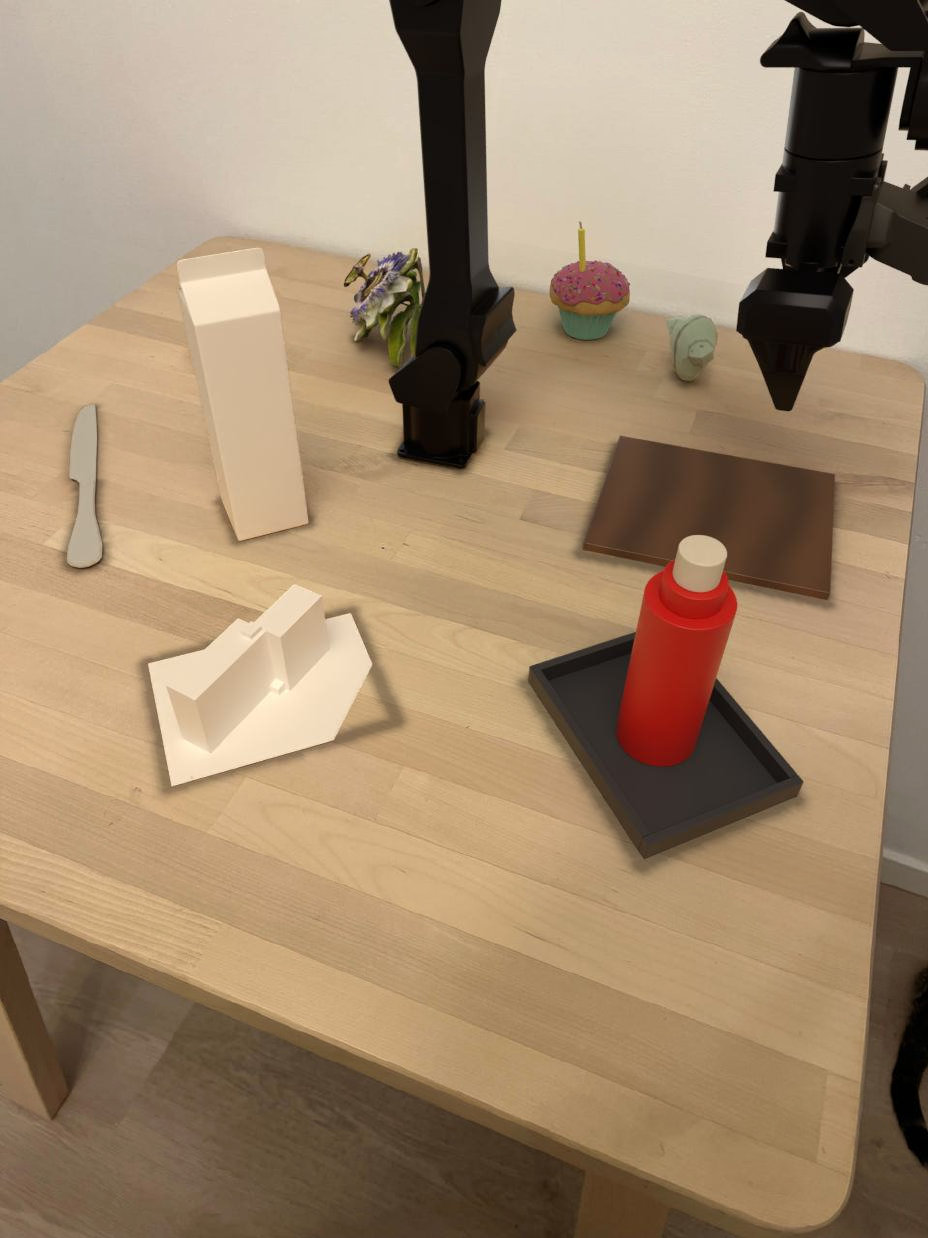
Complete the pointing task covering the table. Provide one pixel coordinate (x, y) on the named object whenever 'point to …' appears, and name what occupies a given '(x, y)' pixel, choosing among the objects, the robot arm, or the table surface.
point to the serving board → (718, 513)
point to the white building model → (259, 688)
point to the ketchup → (676, 654)
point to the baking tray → (650, 795)
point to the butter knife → (84, 491)
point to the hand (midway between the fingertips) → (795, 378)
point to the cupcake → (588, 295)
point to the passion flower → (388, 300)
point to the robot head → (691, 344)
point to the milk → (244, 389)
